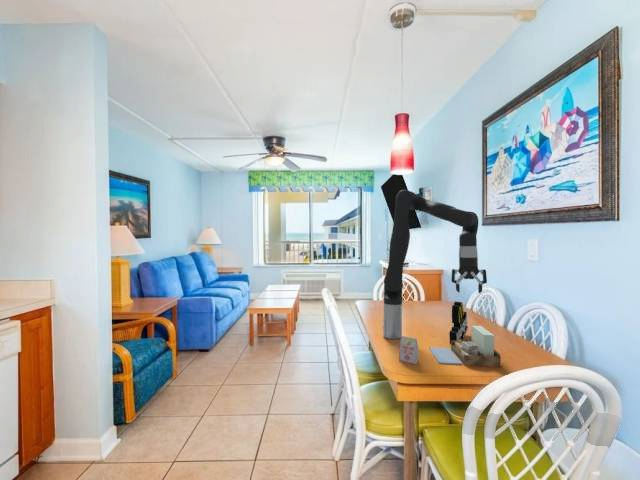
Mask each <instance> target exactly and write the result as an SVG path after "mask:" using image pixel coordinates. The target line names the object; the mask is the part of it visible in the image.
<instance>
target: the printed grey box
mask: <svg viewBox="0 0 640 480" xmlns="http://www.w3.org/2000/svg"><path fill="white" fill-rule="evenodd" d="M399 339H400V340H399V346H398V361H399V362H403V363H406V364H411V365H417V363H418V362H419V345H418V344H419V343H418V339H417V338H414V337H410V336H409V337H408V336H404V335H402V336H401V338H399Z"/></svg>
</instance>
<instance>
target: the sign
mask: <svg viewBox="0 0 640 480" xmlns="http://www.w3.org/2000/svg"><path fill="white" fill-rule="evenodd" d="M451 323H452V324H453V326H451V329H450V331H449V333H448V334H449V335H448V336H449V344H450V345H451V341H461V340H464V338H465V336H466V333H467V331H468V329H469V326H468V312H467V311H464V304H463V302H461V301H454V302H453V304H452V306H451Z"/></svg>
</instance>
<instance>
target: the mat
mask: <svg viewBox="0 0 640 480" xmlns="http://www.w3.org/2000/svg"><path fill="white" fill-rule="evenodd" d="M428 349H429V350H430V352H431V353H432V355H433V356H434V358H435V360H436V361H437V363H438V364H440V365H460V366H462V365H463V363H462V362H461V361H460V359H459V358H458V357H457V356H456V355H455V353H454V352H453V351H452V350H451V347H450V348H449V347H430V346H429V348H428Z"/></svg>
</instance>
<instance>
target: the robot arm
mask: <svg viewBox="0 0 640 480" xmlns="http://www.w3.org/2000/svg"><path fill="white" fill-rule="evenodd" d="M394 206H395V207H394V216H393V217H394V218H393V223H392V230H391V231H392V232H391V235H390V240H389V241H390V242H389V248H388V249H389V250H388V251H389V253H388V264H387V265H388V266H387V270H386V273H385V276H384V279H383V317H382V335H383V338H384V339H390V340H399V339H401V336H403V334H402V333H403V328H402V327H403V273H404V265H405V262H406V261H405V260H406V257H407V254H408V250H409V244H410V239H411V232H410V225H409V212H410V210H412V211H416V212H417V211H418V212H419V211H420V212H421V213H426V214H428V215H430V216H433V217H435V218H437V219H441V220H443V221H446V222H449V223H452V224H453V225H456V226H458V227H461V228H462V229H461V233H460V234H459V238H458V241H459V246H458V247H459V248H458V269H455V268H452V269H451V283H453V284H455V291H456V292H457V293H460V287H461V286H460V283H461V282H462V281H463V280H474V279H475V280H476V282H477V285H478V288H477V291H478V293H479V294H482V292H483V285H484V284H487V282H488V278H487V270H486V269H479V262H478V260H479V259H478V258H479V257H478V255H479V253H478V246H477V245H478V244H477V234H478V230H479V229H478V228H479V217H478V215H477V214H476V212H474V211H466V210H463V209H459V208H456V207H455V206H453V205H449V204H445V203H443V202H437V201H435V200H434V201H432V200H431V199H426V198H424V197H422V196H420V195H418V194H417V193H415V192H413V191H411V190H409V189H401V190H399V192H398V193H397V194H396V196H395V203H394ZM457 273H459V277H458V279H455V278H456V275H457ZM479 273H480V275H482V280H481V279H480V278H479V277H478V275H479Z"/></svg>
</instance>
